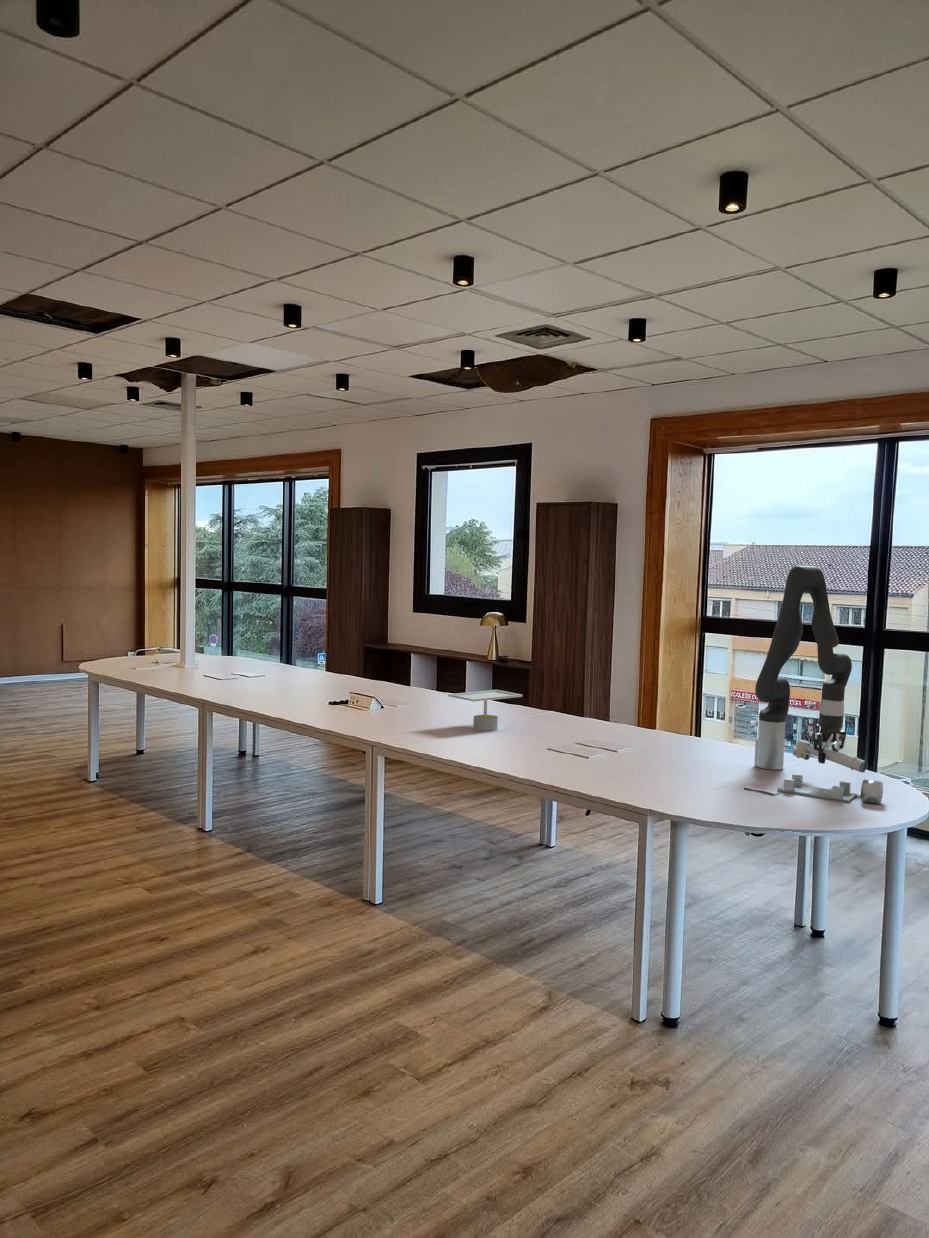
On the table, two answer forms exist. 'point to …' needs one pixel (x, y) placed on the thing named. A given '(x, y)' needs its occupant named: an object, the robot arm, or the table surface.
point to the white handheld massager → (829, 756)
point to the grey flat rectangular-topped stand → (485, 707)
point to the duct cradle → (834, 790)
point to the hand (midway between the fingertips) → (827, 762)
